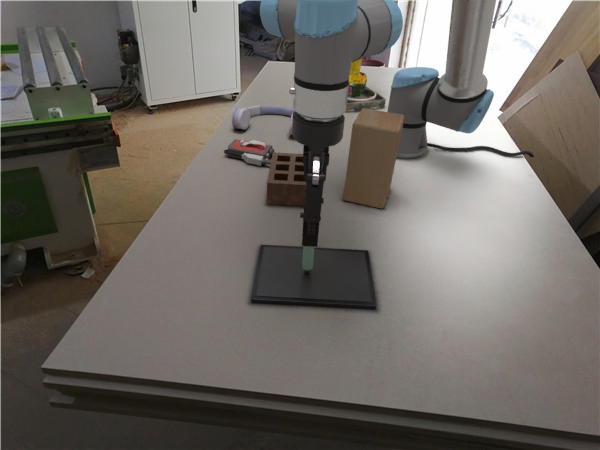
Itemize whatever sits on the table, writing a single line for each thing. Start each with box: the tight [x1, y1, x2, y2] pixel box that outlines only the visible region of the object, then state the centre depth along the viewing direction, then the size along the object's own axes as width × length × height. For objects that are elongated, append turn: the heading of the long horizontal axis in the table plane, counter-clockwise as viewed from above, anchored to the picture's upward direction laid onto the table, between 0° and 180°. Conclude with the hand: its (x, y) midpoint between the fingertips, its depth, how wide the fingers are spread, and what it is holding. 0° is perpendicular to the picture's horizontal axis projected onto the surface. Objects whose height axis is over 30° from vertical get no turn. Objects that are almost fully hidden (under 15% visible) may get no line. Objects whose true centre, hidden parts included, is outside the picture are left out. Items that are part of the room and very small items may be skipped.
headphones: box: [231, 104, 295, 136], centre depth 131 cm, size 22×7×20 cm
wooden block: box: [342, 108, 405, 209], centre depth 95 cm, size 10×10×20 cm
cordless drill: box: [346, 58, 387, 112], centre depth 145 cm, size 18×19×28 cm
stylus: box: [302, 246, 314, 273], centre depth 71 cm, size 2×2×17 cm
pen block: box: [266, 151, 306, 207], centre depth 100 cm, size 11×15×6 cm
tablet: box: [250, 244, 377, 310], centre depth 77 cm, size 22×15×1 cm
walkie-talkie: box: [223, 138, 275, 167], centre depth 112 cm, size 9×4×20 cm
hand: (309, 240), depth 72 cm, fingers closed on stylus, 2 cm apart
